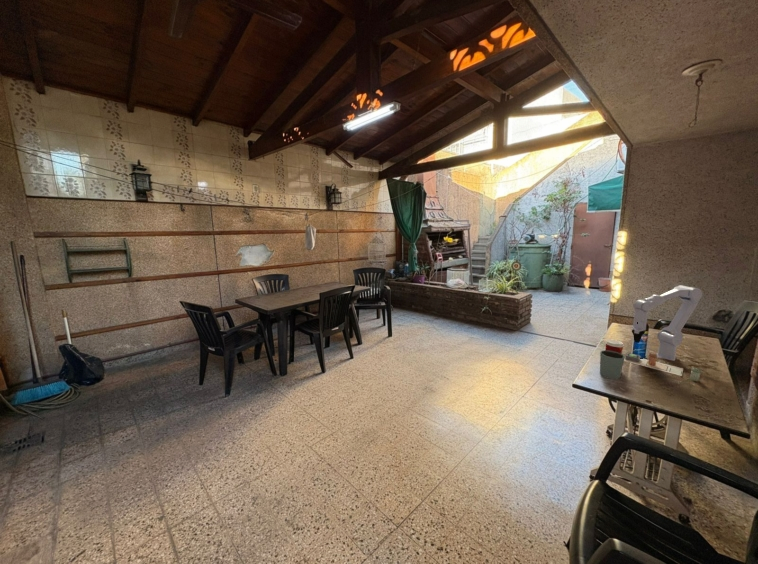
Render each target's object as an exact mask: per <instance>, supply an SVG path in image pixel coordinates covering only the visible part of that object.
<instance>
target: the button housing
mask: <svg viewBox="0 0 758 564" xmlns="http://www.w3.org/2000/svg"><path fill="white" fill-rule="evenodd" d="M629 354H632V353H631V352H627V353H626V355H624V356H625V359H626V360H630V361H634V362H637V363H639V361H640V358H642V356H641V355H639V354H635V353H633V354H634V355H637V358H636V357H631V356H629Z"/></svg>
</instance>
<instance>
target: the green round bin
mask: <svg viewBox="0 0 758 564" xmlns="http://www.w3.org/2000/svg"><path fill="white" fill-rule="evenodd" d="M599 356H600V359H599V363H600V365H599V374H600V375H601V376H602V377H604V378H607V379H610V380H620V378H621V376H622V370H623V366H624V362H625V361H624V359H625V356H626V355H624V354H620V353H618V352H614V351H606V350H600V353H599Z"/></svg>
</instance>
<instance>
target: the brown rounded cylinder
mask: <svg viewBox="0 0 758 564" xmlns="http://www.w3.org/2000/svg"><path fill="white" fill-rule="evenodd" d="M647 360H648V364H649V365H652V366H656V362H657V360H658V355H657V353H651V352H650V353H649V356H648V359H647Z"/></svg>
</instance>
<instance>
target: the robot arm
mask: <svg viewBox="0 0 758 564" xmlns="http://www.w3.org/2000/svg"><path fill="white" fill-rule="evenodd" d="M677 297H678V298H679V299H680V300H681V301H682V304H681V305H680V307H679V309H678V310H677V312H676V313H675V314H674V317H673V318H672V320H671V322H670V323H669V325H668V326H665V327H662V329H661V330H660V331H659V332H657V334H656V338H657V339H658V342H659V345H658V349H657V350H658V351H657V353H656V355H658V356H657V358H660V359H664V360H668V361H672V362H673V361H674V362H675V361H676V358H677V357H676V353H677V347H678V346H680V345H681V344H682V341H683V338H684V336H685V335H684V334H683V332H682V330H683V328H684V326H685V325H686V323H687V322H688V320H689V319H690V317H691V315H692V314H693V312H694V311H695V309H696V307H698V303H699V302H700V300H701V298H702V297H703V291H702V290H701V289H700V288H698V287H691V286H688V285H684V284H683V285H682V284H680V285H677V286H674V287H673V289H671V290H669V291H666V292H664V293H662V294H660V295H659V294H652V295H651V296H649V297H647V298H646V297H645V298H643V299H637V300H635V302H634V303H633V305H632V306H633V308H634V315H633V322H632V325H629V327H630V328H631V333H632V336H633V341H634V340H635V342H634V343H638V344H639V343H640V342H641V340H642V337H643V335H645V334H646V330H647V323H648V317H649V312H650V311H651V310H652V309H654V308H655V307H658V306H660V305H663V304H664V302H665V301H667V300H670V299H674V298H677ZM637 322H638V324H637Z"/></svg>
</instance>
